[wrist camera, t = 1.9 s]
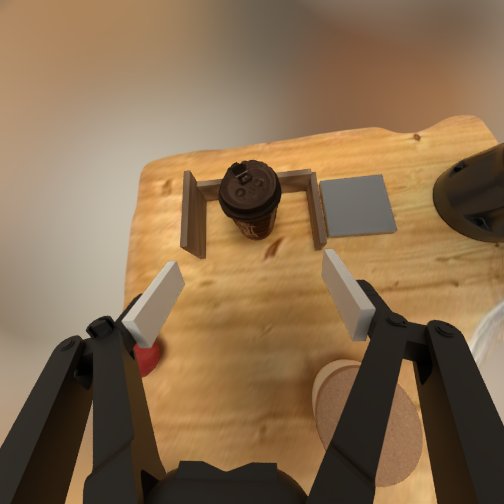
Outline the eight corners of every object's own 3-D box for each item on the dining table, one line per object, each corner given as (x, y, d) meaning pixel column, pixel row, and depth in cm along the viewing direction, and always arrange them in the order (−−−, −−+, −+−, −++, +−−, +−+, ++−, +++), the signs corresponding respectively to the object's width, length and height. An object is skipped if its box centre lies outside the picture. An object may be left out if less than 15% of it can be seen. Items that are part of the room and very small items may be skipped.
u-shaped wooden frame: (310, 185, 36) (321, 154, 28) (320, 249, 33) (335, 234, 25) (201, 197, 38) (183, 171, 30) (200, 258, 35) (180, 246, 27)
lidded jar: (379, 355, 28) (430, 382, 19) (383, 441, 25) (445, 520, 16) (306, 345, 29) (321, 365, 20) (303, 425, 27) (318, 490, 18)
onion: (141, 375, 31) (97, 401, 23) (134, 340, 32) (90, 353, 24) (173, 361, 31) (140, 382, 23) (164, 327, 32) (130, 335, 25)
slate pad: (378, 178, 35) (381, 174, 34) (392, 233, 32) (397, 230, 31) (318, 184, 36) (320, 181, 35) (327, 238, 33) (329, 236, 32)
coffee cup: (240, 201, 37) (223, 150, 24) (282, 205, 36) (287, 155, 23) (231, 242, 35) (208, 210, 22) (275, 248, 34) (276, 218, 21)
